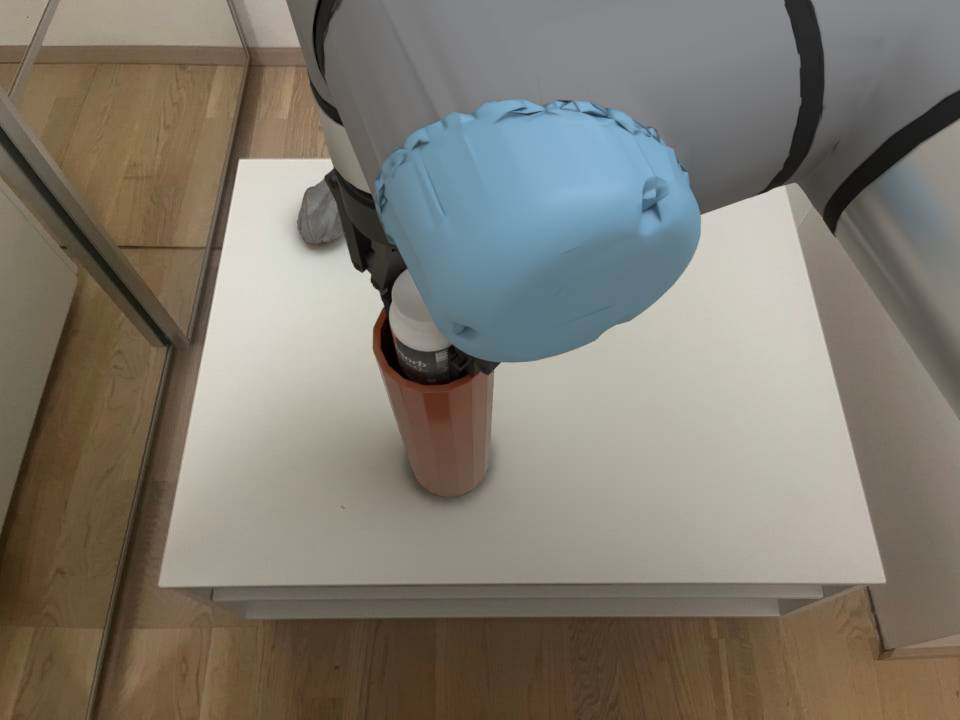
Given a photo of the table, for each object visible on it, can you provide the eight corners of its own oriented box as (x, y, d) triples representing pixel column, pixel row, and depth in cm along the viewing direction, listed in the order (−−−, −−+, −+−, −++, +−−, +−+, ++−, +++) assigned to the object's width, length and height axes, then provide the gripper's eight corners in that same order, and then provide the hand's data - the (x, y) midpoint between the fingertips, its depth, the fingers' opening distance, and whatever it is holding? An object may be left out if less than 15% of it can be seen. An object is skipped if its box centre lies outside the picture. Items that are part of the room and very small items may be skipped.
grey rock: (306, 190, 96) (292, 150, 89) (369, 191, 96) (360, 152, 89) (295, 255, 91) (280, 219, 84) (361, 256, 91) (351, 220, 84)
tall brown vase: (504, 456, 79) (520, 331, 50) (451, 513, 76) (435, 417, 47) (448, 407, 82) (432, 262, 53) (395, 461, 79) (347, 339, 50)
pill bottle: (384, 353, 53) (365, 287, 44) (438, 312, 55) (431, 241, 46) (430, 403, 51) (420, 345, 42) (485, 359, 53) (487, 294, 44)
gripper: (612, 203, 30) (557, 394, 51) (333, 14, 36) (387, 257, 57) (504, 309, 28) (493, 464, 49) (222, 90, 33) (321, 314, 54)
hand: (436, 353), depth 53 cm, fingers closed on pill bottle, 6 cm apart
